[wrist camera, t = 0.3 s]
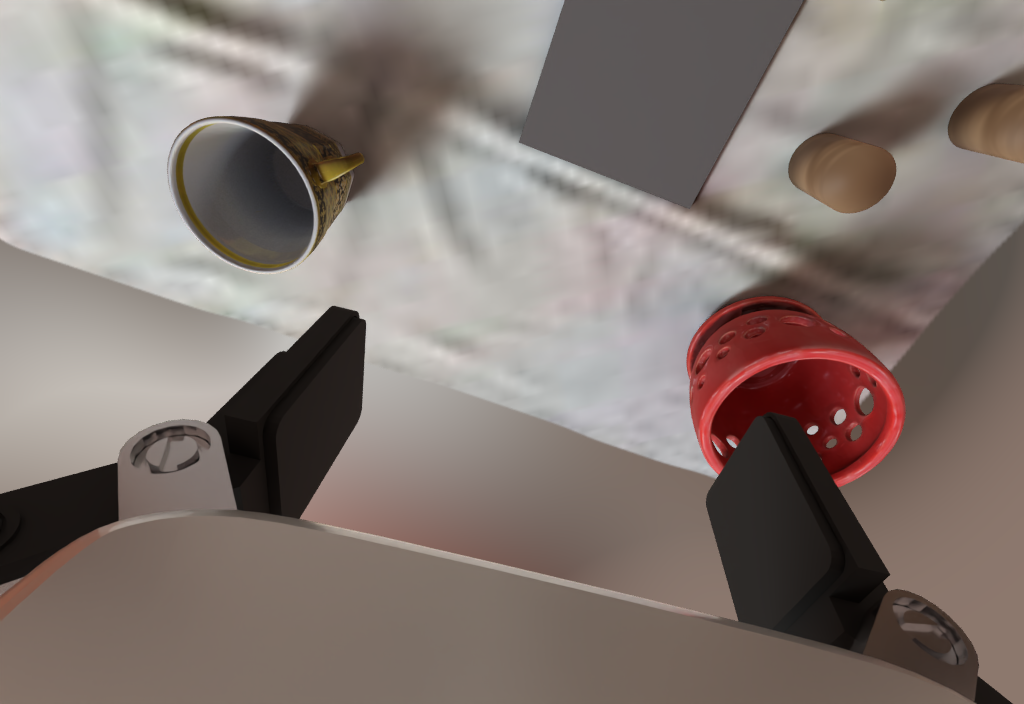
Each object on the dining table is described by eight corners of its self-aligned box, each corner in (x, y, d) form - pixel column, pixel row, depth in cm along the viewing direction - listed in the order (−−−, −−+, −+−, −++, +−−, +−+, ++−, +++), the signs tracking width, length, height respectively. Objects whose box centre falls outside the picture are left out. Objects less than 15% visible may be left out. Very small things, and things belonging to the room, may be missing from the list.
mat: (596, -95, 29) (596, -97, 29) (802, -5, 30) (806, -6, 30) (519, 141, 37) (518, 142, 36) (688, 206, 38) (689, 208, 37)
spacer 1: (811, 124, 34) (852, 136, 29) (862, 145, 34) (911, 160, 29) (776, 179, 36) (809, 200, 31) (824, 199, 36) (864, 222, 31)
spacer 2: (982, 73, 31) (1060, 77, 26) (1035, 97, 32) (1122, 104, 26) (933, 137, 33) (997, 151, 28) (983, 158, 34) (1056, 176, 29)
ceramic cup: (296, 244, 43) (227, 289, 35) (231, 127, 39) (133, 147, 30) (425, 202, 40) (384, 241, 31) (371, 69, 35) (306, 72, 27)
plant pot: (864, 306, 40) (960, 390, 30) (772, 420, 47) (826, 520, 37) (719, 255, 39) (768, 324, 29) (648, 379, 46) (667, 469, 36)
